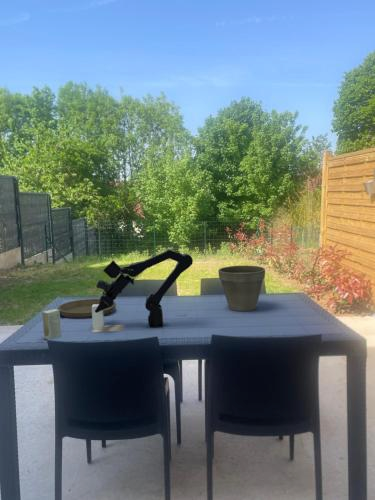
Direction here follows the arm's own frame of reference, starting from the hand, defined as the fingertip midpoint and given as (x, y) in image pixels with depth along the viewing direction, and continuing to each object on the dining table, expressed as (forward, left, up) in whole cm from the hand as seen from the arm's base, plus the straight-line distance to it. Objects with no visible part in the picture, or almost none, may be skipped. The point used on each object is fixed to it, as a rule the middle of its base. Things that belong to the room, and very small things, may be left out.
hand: (96, 309), depth 200 cm
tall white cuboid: (-1, 0, -8) cm, 8 cm away
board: (-6, +2, -9) cm, 11 cm away
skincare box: (+17, +12, -9) cm, 23 cm away
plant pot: (-73, -30, -9) cm, 79 cm away
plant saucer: (+11, -32, -10) cm, 35 cm away
